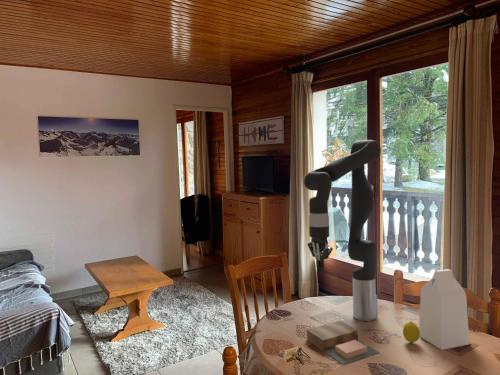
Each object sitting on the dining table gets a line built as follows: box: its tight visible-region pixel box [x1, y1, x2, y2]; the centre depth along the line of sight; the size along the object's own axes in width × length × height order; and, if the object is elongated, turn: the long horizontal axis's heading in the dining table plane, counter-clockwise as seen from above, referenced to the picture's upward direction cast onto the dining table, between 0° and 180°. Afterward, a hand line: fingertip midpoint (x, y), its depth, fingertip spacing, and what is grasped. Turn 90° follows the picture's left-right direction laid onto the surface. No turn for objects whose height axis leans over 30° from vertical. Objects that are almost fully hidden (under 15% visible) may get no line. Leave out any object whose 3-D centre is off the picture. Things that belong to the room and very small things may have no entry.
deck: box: [306, 320, 359, 352], centre depth 142 cm, size 16×10×4 cm, turn 116°
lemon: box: [402, 321, 420, 344], centre depth 138 cm, size 6×6×8 cm
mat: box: [323, 339, 380, 365], centre depth 133 cm, size 16×10×1 cm, turn 116°
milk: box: [418, 268, 470, 351], centre depth 139 cm, size 12×12×26 cm
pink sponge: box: [335, 340, 367, 359], centre depth 133 cm, size 9×6×2 cm, turn 116°
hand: (320, 269), depth 146 cm, fingers closed
